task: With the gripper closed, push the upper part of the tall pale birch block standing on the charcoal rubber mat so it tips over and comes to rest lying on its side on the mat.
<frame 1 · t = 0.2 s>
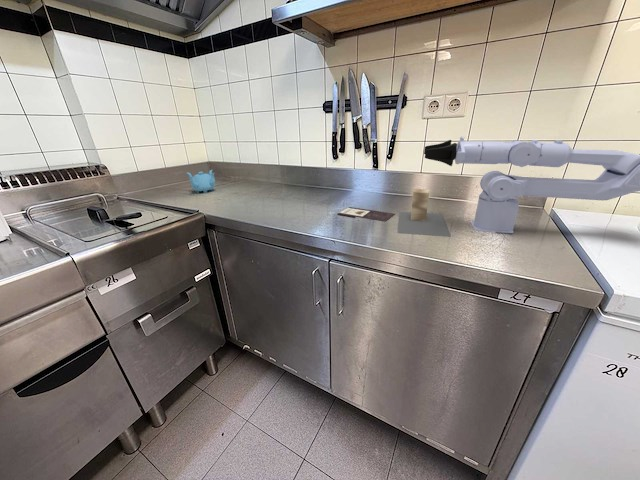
hand: (424, 152, 75), 21 cm above the worktop, tool horizontal, fingers open, 7 cm apart
chocolate bar: (366, 216, 93), on the worktop
teapot: (205, 191, 140), on the worktop
rubber mat: (421, 224, 83), on the worktop
birch block: (417, 218, 86), resting on rubber mat
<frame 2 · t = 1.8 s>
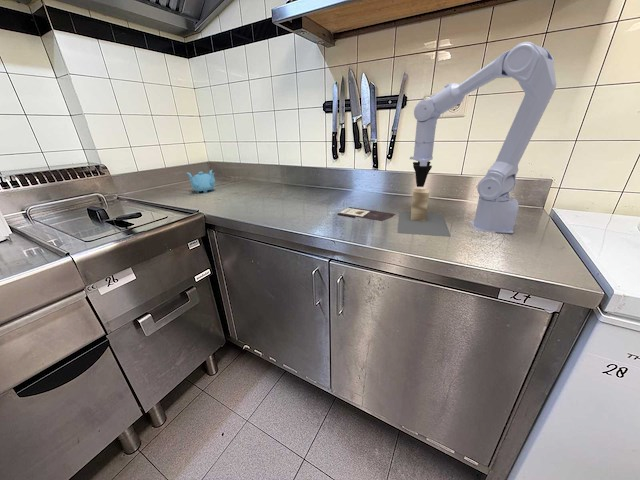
hand: (419, 184, 91), 9 cm above the worktop, tool pointing down, fingers open, 5 cm apart
nothing on the worktop moved.
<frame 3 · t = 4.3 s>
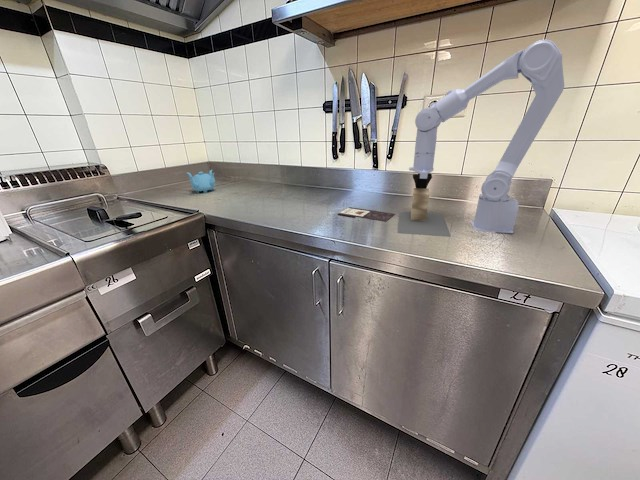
hand: (419, 197, 86), 7 cm above the worktop, tool pointing down, fingers closed
birch block: (418, 217, 86), point 1 cm above the worktop, tilted 9°, touching gripper, rubber mat
everything else where it was.
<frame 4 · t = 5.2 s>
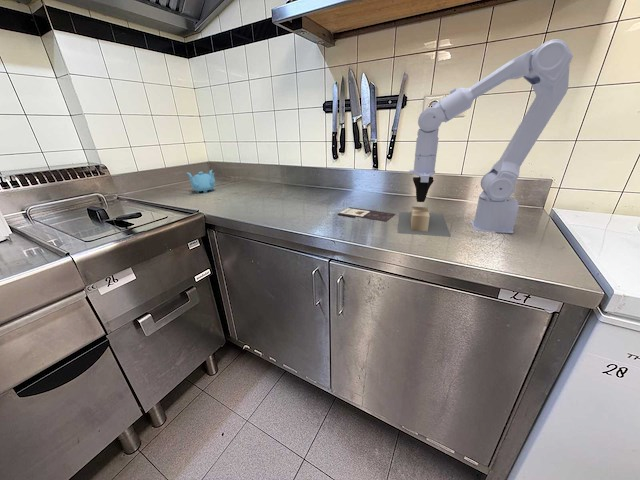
hand: (420, 201, 81), 7 cm above the worktop, tool pointing down, fingers closed
birch block: (418, 213, 84), point 3 cm above the worktop, tilted 90°, touching rubber mat
everything else where it was.
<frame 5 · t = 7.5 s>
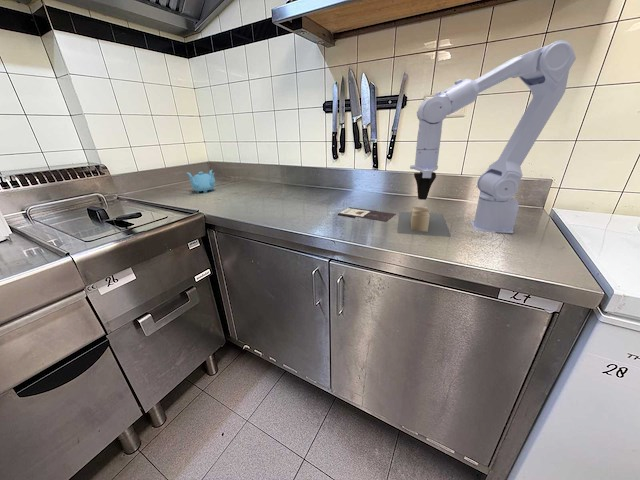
hand: (422, 199, 76), 9 cm above the worktop, tool pointing down, fingers closed
nothing on the worktop moved.
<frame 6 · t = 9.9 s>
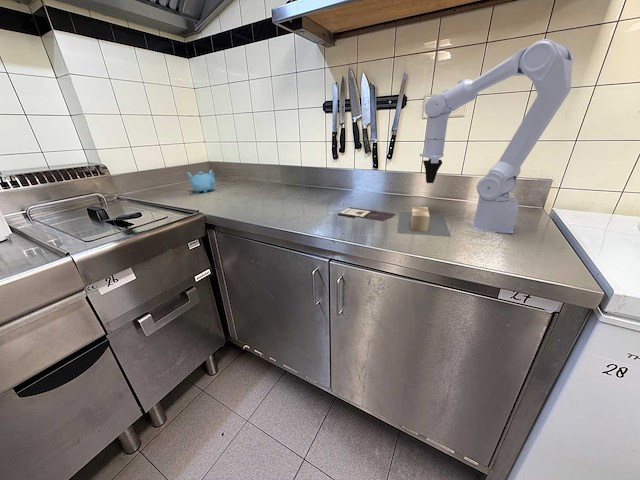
hand: (429, 182, 89), 10 cm above the worktop, tool pointing down, fingers closed
nothing on the worktop moved.
at the end: birch block tilted 90°; birch block inside the target area on the rubber mat (4.8 cm from its centre), point 2.7 cm above the rubber mat's base; birch block touching rubber mat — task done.
